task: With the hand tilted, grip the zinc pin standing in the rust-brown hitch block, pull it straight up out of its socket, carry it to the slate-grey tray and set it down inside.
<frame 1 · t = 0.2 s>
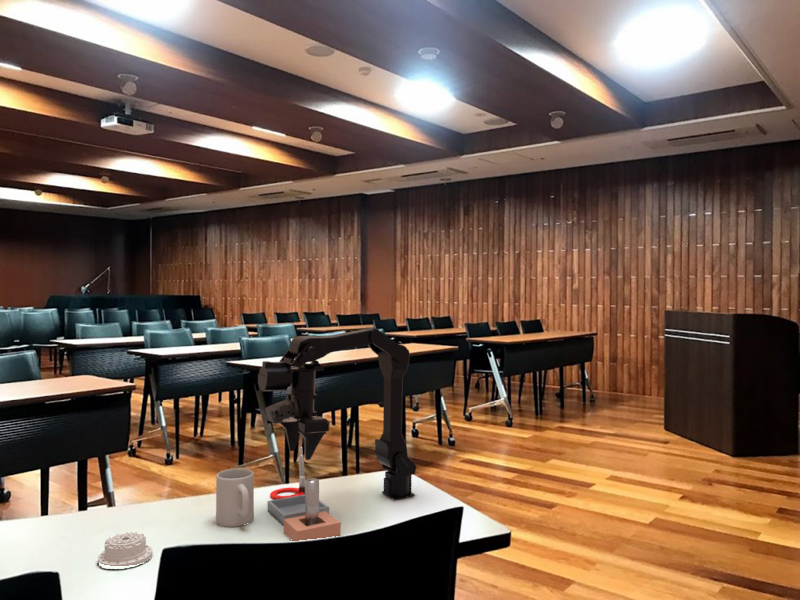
hand: (299, 455, 151), 14 cm above the table, tool pointing down, fingers open, 9 cm apart
mug: (237, 523, 146), on the table
tray: (297, 514, 152), on the table
pin: (312, 507, 139), in the hitch block
tow hook: (288, 496, 165), on the table
mechanical component: (125, 561, 126), on the table
hitch block: (311, 534, 139), on the table
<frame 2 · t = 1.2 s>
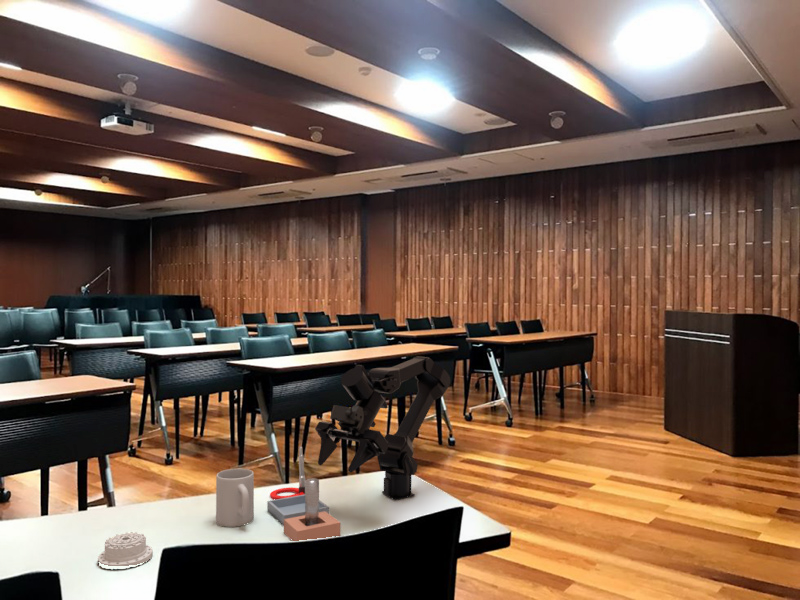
hand: (334, 467, 145), 13 cm above the table, tool tilted 45°, fingers open, 9 cm apart
nothing on the table moved.
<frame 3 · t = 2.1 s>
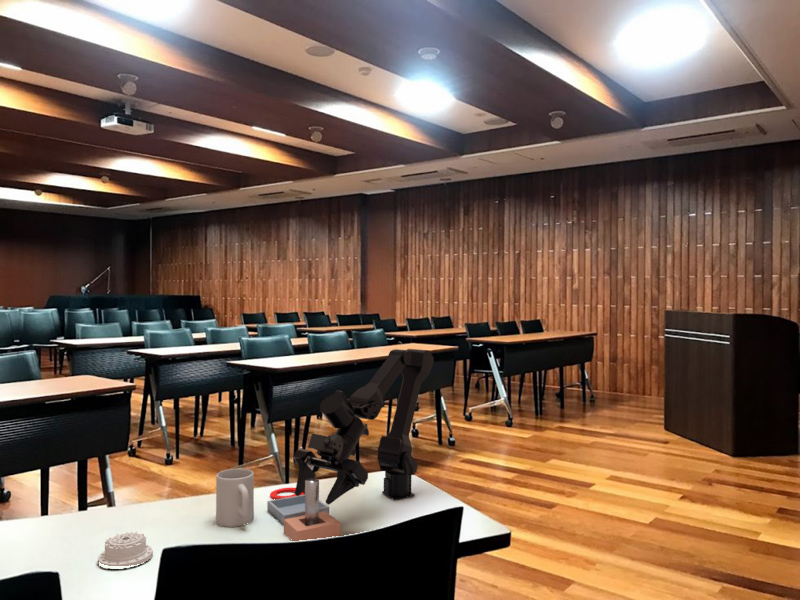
hand: (311, 499, 139), 8 cm above the table, tool tilted 45°, fingers open, 9 cm apart
nothing on the table moved.
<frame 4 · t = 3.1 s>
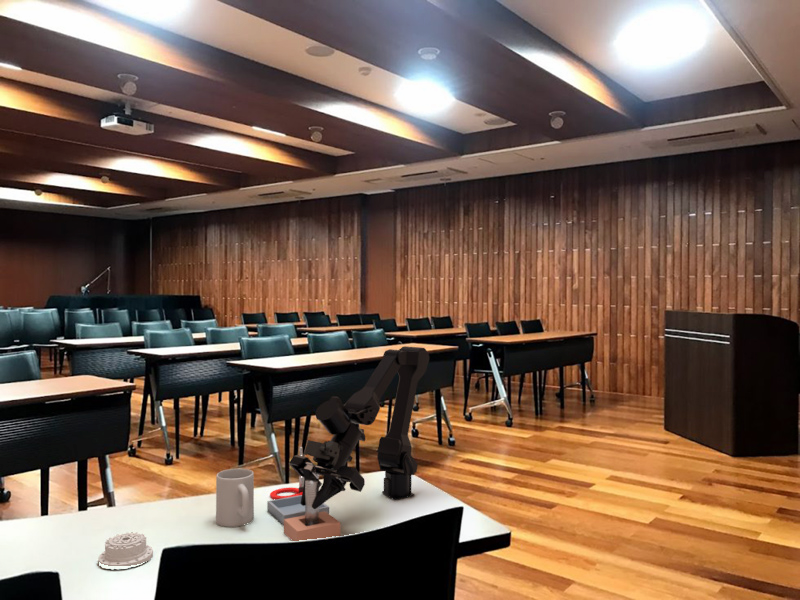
hand: (307, 506, 138), 7 cm above the table, tool tilted 45°, fingers closed on pin, 3 cm apart
pin: (312, 507, 139), in the hitch block, touching gripper
everything else where it was.
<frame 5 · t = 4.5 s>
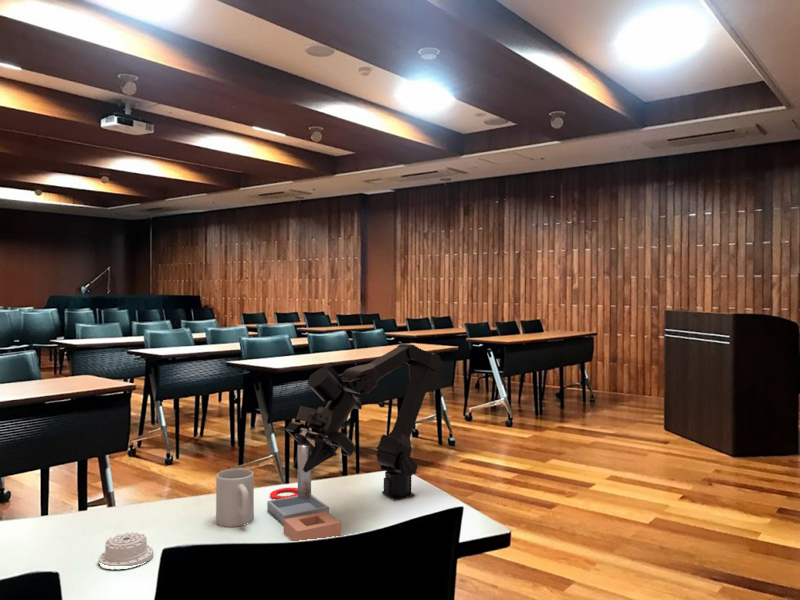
hand: (299, 469, 142), 13 cm above the table, tool tilted 45°, fingers closed on pin, 3 cm apart
pin: (304, 471, 143), point 13 cm above the table, touching gripper
everything else where it was.
when the fingers open (8 cm above the table, at t = 6.1 s): pin drops 1 cm, resting on tray.
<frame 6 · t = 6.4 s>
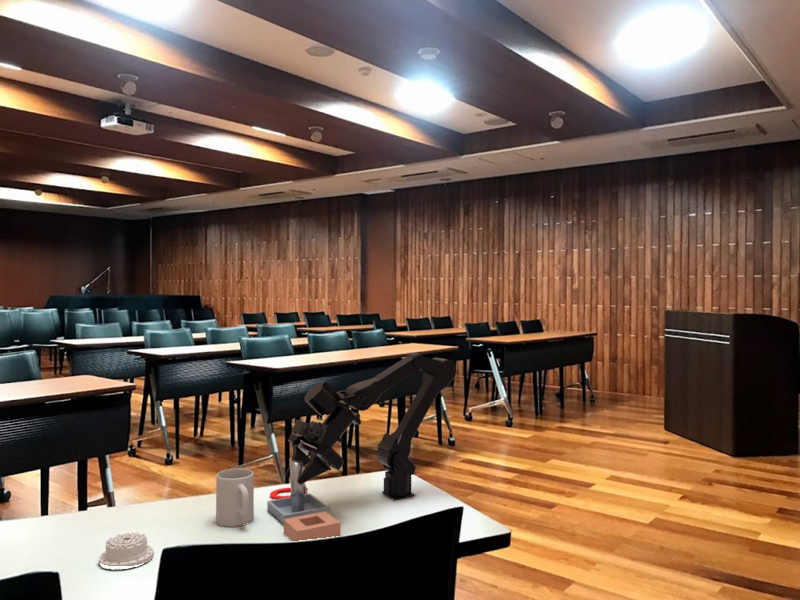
hand: (292, 479, 151), 9 cm above the table, tool tilted 45°, fingers open, 6 cm apart
pin: (297, 486, 151), in the tray, point 7 cm above the table
everything else where it was.
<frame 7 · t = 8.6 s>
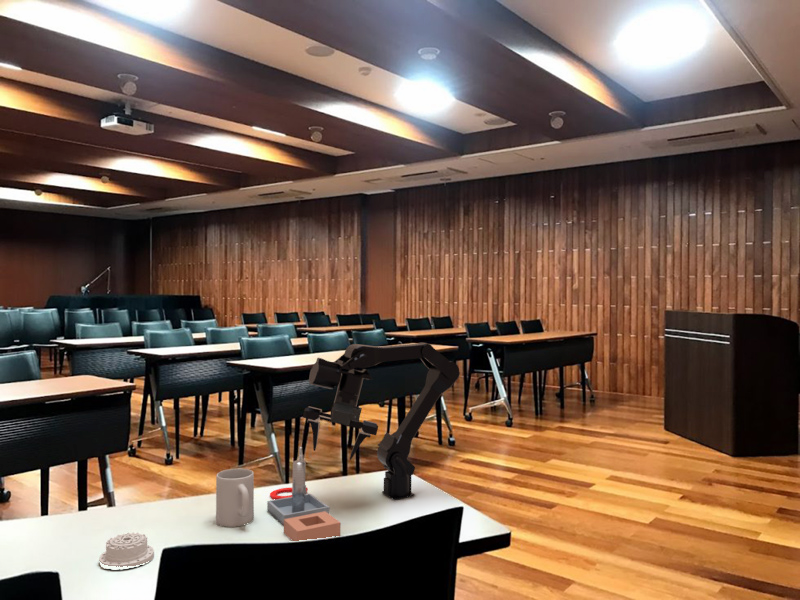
hand: (332, 455, 157), 13 cm above the table, tool tilted 15°, fingers open, 9 cm apart
nothing on the table moved.
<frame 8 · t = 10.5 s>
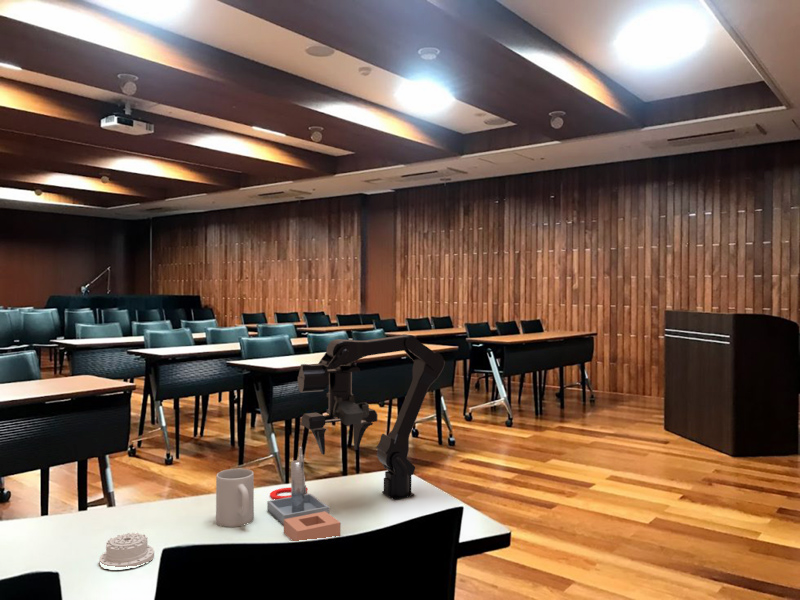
hand: (339, 451, 159), 13 cm above the table, tool pointing down, fingers open, 9 cm apart
nothing on the table moved.
at the end: pin inside the target area on the tray (0.0 cm from its centre), point 6.6 cm above the tray's base; pin inside the target area on the table beside the hitch block (20.1 cm from its centre), point 6.6 cm above the table; the gripper is holding nothing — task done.
